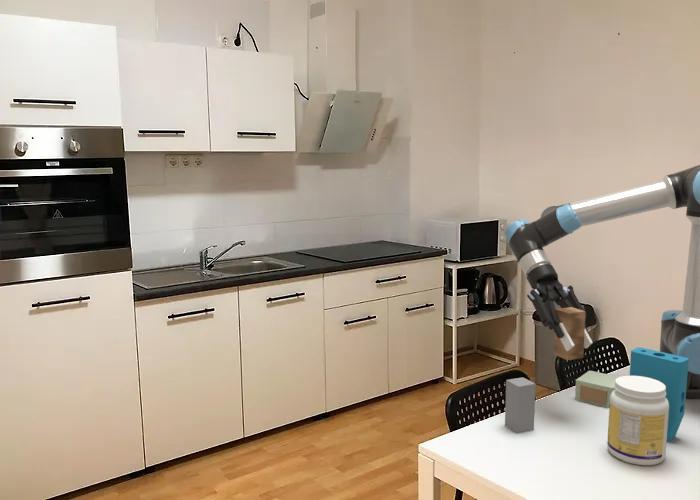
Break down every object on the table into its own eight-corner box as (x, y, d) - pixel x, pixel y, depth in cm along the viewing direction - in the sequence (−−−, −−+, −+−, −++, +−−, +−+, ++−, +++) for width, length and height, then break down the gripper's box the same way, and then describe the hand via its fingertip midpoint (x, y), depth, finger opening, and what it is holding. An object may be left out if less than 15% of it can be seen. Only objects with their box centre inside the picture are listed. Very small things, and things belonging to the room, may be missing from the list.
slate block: (521, 422, 160) (522, 377, 158) (533, 430, 156) (535, 383, 154) (504, 425, 158) (506, 380, 157) (517, 433, 154) (518, 386, 152)
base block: (624, 398, 176) (625, 378, 175) (611, 410, 168) (612, 388, 167) (588, 390, 182) (589, 370, 181) (574, 401, 174) (575, 380, 174)
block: (683, 438, 150) (690, 358, 147) (674, 445, 147) (681, 363, 144) (634, 422, 159) (639, 346, 156) (624, 428, 156) (629, 351, 153)
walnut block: (569, 352, 163) (571, 307, 161) (583, 357, 159) (585, 311, 157) (554, 354, 161) (555, 309, 160) (567, 360, 157) (569, 313, 155)
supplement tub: (616, 437, 151) (620, 370, 149) (671, 452, 144) (676, 381, 141) (599, 456, 142) (603, 384, 139) (657, 473, 134) (662, 397, 132)
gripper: (558, 276, 175) (599, 349, 162) (504, 281, 168) (542, 358, 156) (572, 260, 169) (616, 335, 157) (517, 265, 163) (558, 343, 150)
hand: (579, 346), depth 156 cm, fingers closed on walnut block, 5 cm apart
